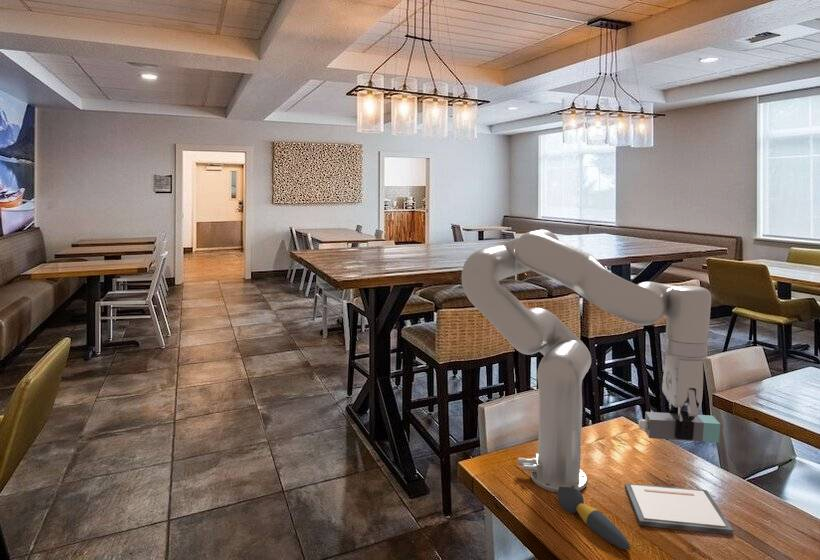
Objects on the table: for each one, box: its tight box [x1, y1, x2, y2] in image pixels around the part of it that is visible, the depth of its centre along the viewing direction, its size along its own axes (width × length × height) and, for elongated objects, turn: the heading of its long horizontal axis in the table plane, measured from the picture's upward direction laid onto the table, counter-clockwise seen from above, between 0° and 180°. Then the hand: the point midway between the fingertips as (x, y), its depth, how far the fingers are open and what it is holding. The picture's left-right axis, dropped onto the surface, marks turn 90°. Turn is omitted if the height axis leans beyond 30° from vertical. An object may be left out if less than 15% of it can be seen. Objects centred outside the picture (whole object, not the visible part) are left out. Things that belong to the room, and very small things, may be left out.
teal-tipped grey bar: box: [638, 411, 721, 444], centre depth 105 cm, size 14×4×4 cm, turn 79°
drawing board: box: [624, 482, 734, 535], centre depth 108 cm, size 17×14×1 cm
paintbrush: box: [556, 486, 631, 551], centre depth 103 cm, size 20×5×5 cm, turn 31°
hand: (680, 432), depth 105 cm, fingers closed on teal-tipped grey bar, 4 cm apart
